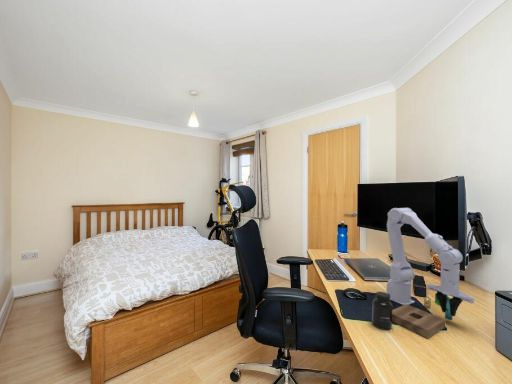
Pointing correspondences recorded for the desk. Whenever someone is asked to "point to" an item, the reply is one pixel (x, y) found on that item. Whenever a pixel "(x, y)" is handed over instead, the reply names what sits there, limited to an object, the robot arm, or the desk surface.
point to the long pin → (448, 309)
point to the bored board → (417, 320)
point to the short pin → (427, 302)
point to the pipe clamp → (437, 300)
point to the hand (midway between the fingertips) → (448, 313)
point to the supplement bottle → (382, 311)
